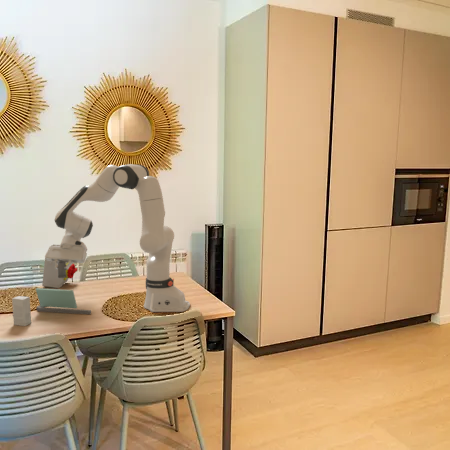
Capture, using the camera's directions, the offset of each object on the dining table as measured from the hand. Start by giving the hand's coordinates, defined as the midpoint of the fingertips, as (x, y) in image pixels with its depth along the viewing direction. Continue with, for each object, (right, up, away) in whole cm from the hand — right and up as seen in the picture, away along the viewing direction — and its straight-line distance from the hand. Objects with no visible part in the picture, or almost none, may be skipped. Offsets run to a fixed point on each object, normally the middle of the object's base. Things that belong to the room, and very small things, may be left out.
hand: (61, 268), depth 229 cm
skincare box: (-8, -22, -25) cm, 35 cm away
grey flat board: (+5, -19, -5) cm, 20 cm away
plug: (0, -4, +1) cm, 4 cm away
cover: (+2, -12, -12) cm, 17 cm away
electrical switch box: (-12, -12, +34) cm, 38 cm away
